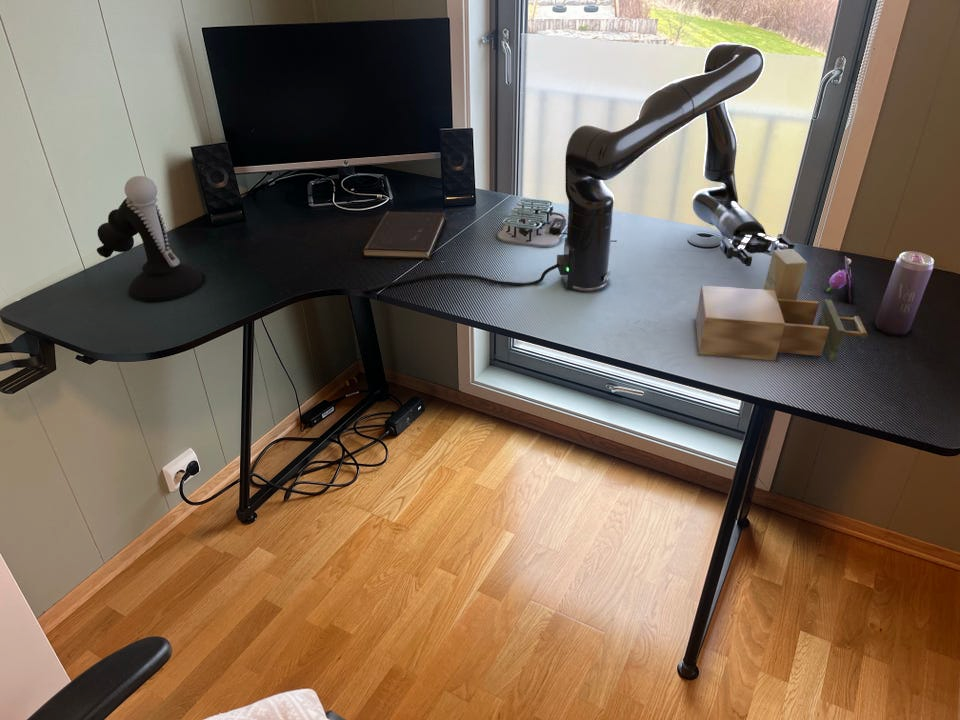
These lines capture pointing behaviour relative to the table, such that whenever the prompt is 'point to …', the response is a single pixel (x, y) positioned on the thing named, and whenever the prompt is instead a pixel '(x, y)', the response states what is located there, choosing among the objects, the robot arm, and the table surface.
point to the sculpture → (147, 245)
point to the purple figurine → (841, 279)
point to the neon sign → (534, 224)
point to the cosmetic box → (785, 273)
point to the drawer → (814, 328)
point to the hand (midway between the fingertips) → (770, 261)
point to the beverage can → (904, 292)
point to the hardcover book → (405, 235)
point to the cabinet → (739, 322)
